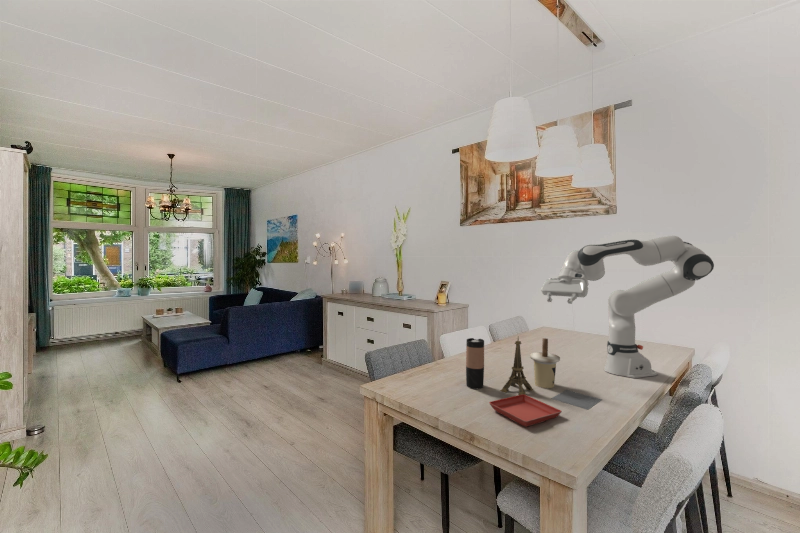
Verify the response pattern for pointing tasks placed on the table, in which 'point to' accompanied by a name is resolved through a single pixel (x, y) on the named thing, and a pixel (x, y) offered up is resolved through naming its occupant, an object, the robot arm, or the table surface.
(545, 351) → the lid
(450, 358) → the table surface
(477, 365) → the travel mug
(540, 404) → the plant saucer
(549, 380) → the coffee cup
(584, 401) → the mat
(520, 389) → the eiffel tower
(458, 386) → the table surface
